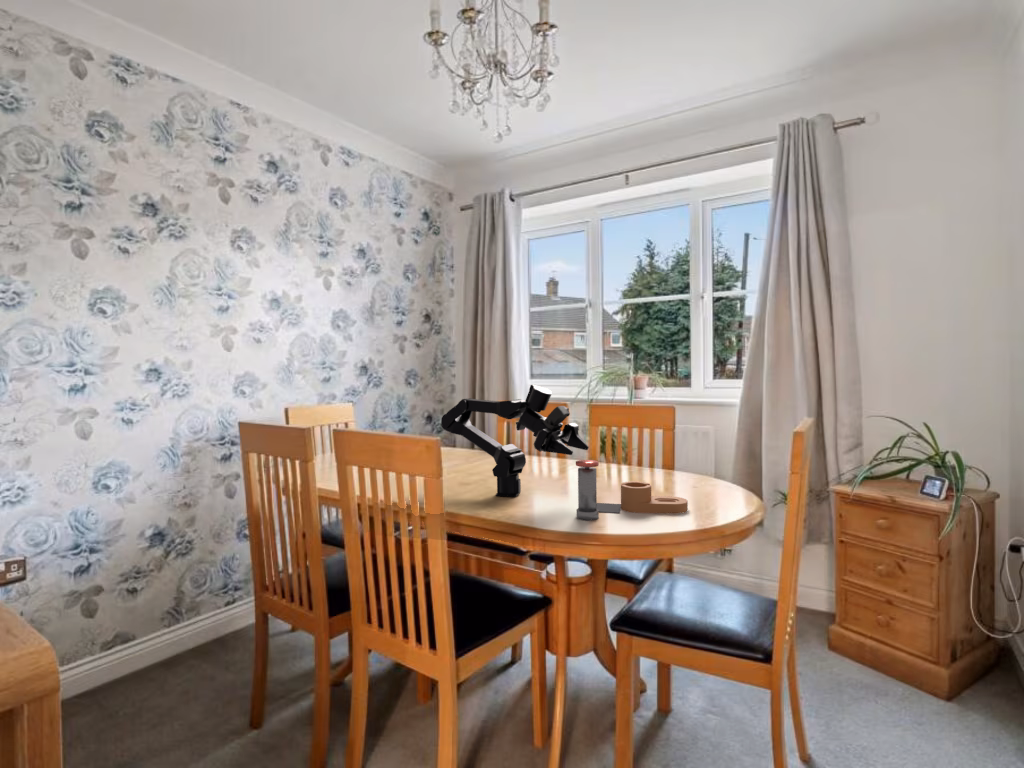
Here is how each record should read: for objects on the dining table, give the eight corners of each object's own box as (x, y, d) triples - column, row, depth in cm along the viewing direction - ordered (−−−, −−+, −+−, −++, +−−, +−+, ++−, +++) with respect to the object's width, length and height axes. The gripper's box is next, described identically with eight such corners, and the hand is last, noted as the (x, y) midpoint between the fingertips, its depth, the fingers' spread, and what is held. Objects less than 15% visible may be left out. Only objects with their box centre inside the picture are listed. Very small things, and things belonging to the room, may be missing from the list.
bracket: (622, 513, 154) (621, 487, 153) (620, 505, 162) (619, 481, 162) (690, 514, 151) (690, 489, 151) (684, 506, 160) (684, 482, 159)
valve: (574, 519, 147) (574, 463, 146) (577, 513, 153) (577, 459, 152) (597, 521, 146) (597, 464, 145) (600, 514, 151) (599, 460, 151)
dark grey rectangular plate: (593, 511, 154) (593, 511, 154) (596, 503, 163) (596, 502, 163) (619, 513, 153) (619, 512, 153) (621, 504, 161) (621, 504, 161)
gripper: (530, 402, 158) (574, 430, 150) (564, 398, 173) (606, 422, 165) (516, 437, 161) (559, 465, 153) (551, 429, 176) (591, 455, 168)
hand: (580, 451), depth 160 cm, fingers open, 9 cm apart
